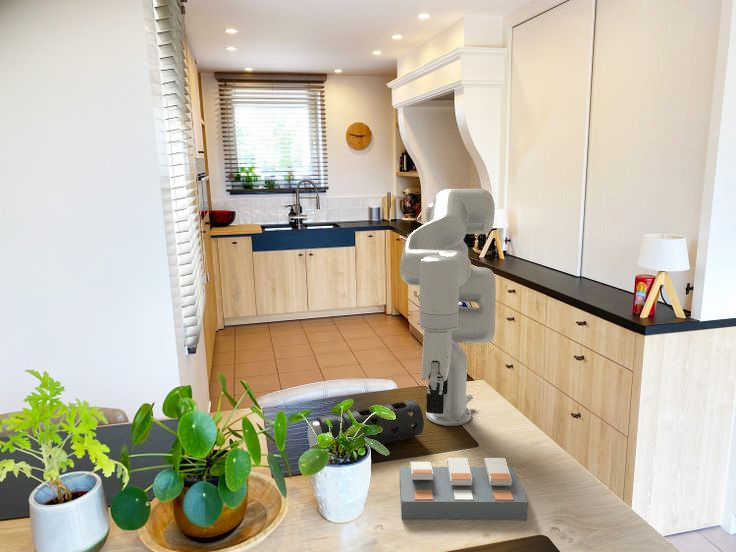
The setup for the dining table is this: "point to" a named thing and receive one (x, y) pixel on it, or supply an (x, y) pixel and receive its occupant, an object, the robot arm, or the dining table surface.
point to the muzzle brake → (375, 423)
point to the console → (461, 497)
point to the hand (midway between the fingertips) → (437, 402)
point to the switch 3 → (497, 471)
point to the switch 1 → (421, 471)
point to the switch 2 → (459, 471)
